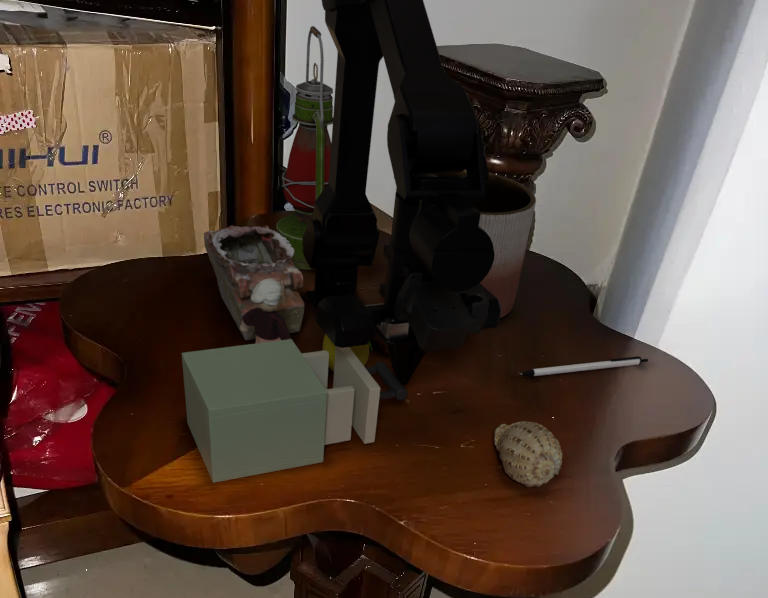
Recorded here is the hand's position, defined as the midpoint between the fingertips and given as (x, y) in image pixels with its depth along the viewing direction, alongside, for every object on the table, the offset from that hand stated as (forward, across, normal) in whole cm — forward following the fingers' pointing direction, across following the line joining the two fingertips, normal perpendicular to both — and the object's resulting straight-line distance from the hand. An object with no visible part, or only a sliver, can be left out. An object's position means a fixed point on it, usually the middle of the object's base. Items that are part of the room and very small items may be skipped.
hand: (401, 383), depth 85 cm
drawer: (+4, -8, 0) cm, 9 cm away
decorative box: (+5, -10, +29) cm, 31 cm away
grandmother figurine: (+5, -12, +11) cm, 17 cm away
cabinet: (+4, -17, 0) cm, 17 cm away
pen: (+5, +28, +3) cm, 29 cm away
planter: (+5, +20, +25) cm, 33 cm away
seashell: (+5, +9, -12) cm, 16 cm away
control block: (+4, +8, +18) cm, 20 cm away
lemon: (+5, -3, +10) cm, 11 cm away
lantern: (+5, +6, +44) cm, 45 cm away
